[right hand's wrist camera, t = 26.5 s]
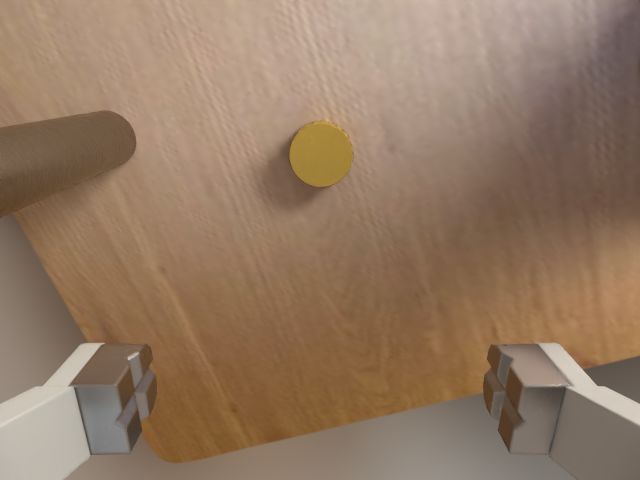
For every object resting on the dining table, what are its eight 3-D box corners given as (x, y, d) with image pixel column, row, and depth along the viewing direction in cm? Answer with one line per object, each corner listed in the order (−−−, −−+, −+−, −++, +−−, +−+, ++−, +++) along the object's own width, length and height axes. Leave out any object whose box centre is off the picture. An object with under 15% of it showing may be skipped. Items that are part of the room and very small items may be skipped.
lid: (341, 111, 38) (343, 113, 36) (359, 172, 40) (361, 177, 38) (281, 131, 38) (279, 134, 37) (301, 190, 40) (300, 195, 38)
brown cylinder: (109, 174, 40) (-69, 259, 22) (70, 131, 38) (-153, 182, 20) (147, 144, 39) (-6, 206, 21) (109, 99, 37) (-90, 122, 19)
